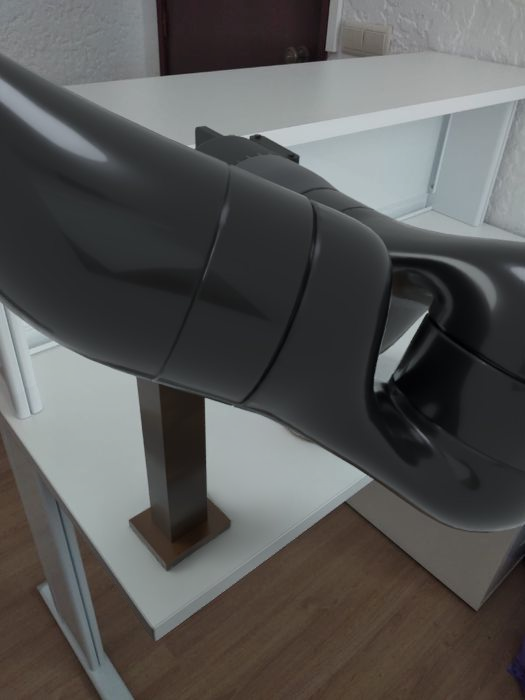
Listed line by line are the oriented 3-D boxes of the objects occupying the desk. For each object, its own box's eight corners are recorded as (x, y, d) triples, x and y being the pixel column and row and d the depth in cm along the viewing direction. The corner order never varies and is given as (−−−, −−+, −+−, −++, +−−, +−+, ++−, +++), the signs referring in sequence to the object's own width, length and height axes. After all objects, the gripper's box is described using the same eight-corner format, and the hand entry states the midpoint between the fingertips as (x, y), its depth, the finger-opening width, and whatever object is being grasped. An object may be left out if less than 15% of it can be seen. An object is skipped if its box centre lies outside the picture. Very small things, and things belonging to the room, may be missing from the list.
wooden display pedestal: (166, 571, 62) (138, 274, 42) (129, 526, 67) (87, 238, 46) (231, 526, 67) (234, 242, 47) (192, 488, 72) (180, 212, 51)
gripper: (368, 140, 33) (230, 84, 44) (133, 175, 27) (41, 100, 38) (351, 258, 38) (230, 181, 49) (146, 313, 31) (60, 209, 42)
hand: (147, 146), depth 43 cm, fingers open, 8 cm apart
